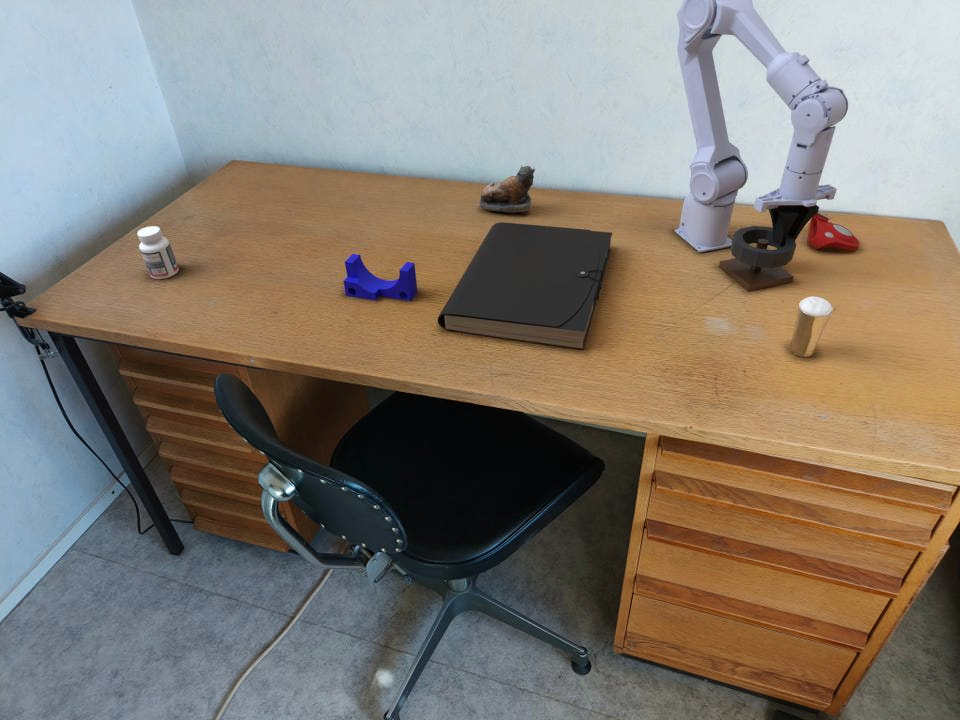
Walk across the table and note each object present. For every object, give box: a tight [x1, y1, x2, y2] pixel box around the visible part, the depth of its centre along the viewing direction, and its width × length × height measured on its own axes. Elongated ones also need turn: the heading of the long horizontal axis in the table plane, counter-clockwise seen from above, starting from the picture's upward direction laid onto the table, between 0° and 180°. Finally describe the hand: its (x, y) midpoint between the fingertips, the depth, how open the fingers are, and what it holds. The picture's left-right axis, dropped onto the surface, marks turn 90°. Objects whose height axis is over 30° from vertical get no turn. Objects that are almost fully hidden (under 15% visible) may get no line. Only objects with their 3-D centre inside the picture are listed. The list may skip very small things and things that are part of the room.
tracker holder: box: [806, 211, 860, 251], centre depth 127 cm, size 12×4×10 cm
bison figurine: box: [478, 165, 536, 213], centre depth 139 cm, size 12×7×10 cm, turn 74°
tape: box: [730, 225, 797, 268], centre depth 115 cm, size 10×10×3 cm
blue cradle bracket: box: [342, 253, 419, 302], centre depth 116 cm, size 12×4×6 cm, turn 71°
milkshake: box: [789, 295, 839, 358], centre depth 98 cm, size 5×5×10 cm
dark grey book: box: [437, 221, 613, 350], centre depth 117 cm, size 33×4×24 cm
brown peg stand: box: [718, 239, 794, 292], centre depth 117 cm, size 9×9×7 cm
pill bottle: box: [136, 225, 180, 280], centre depth 123 cm, size 5×5×9 cm
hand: (783, 242), depth 116 cm, fingers closed on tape
